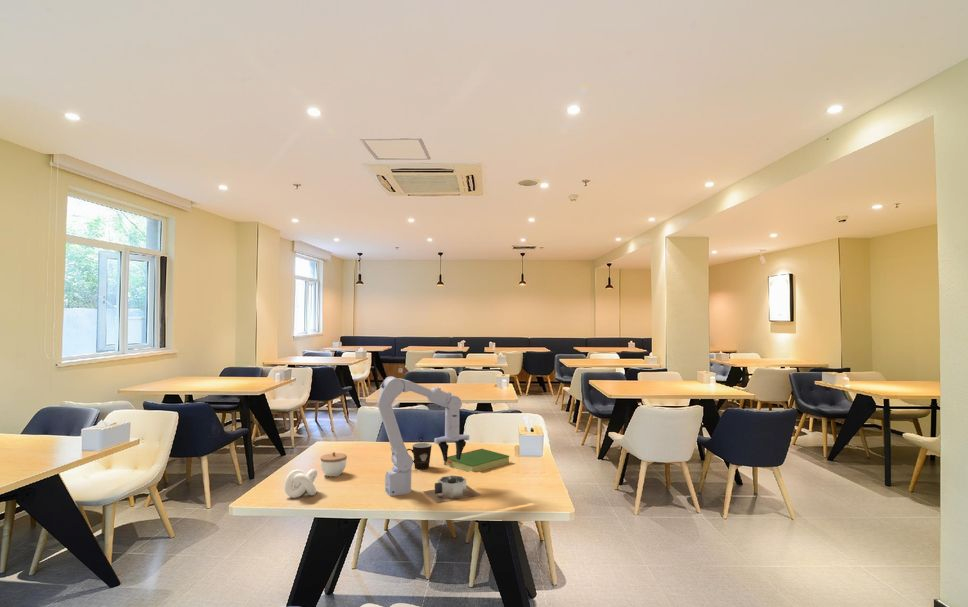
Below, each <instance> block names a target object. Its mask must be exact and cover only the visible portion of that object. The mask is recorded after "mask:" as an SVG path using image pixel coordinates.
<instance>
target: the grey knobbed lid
mask: <svg viewBox="0 0 968 607" xmlns="http://www.w3.org/2000/svg"><path fill="white" fill-rule="evenodd" d="M448 483H451V484H454V483H456V477H449V478H448Z"/></svg>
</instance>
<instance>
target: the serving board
mask: <svg viewBox="0 0 968 607" xmlns="http://www.w3.org/2000/svg"><path fill="white" fill-rule="evenodd" d="M422 493H424V494H425V495H426V496H427V497H428V498H430V499H431V500H432V501H433V502H435V503H436V504H441V503H442V504H443V503H448V502H453V501H458V500H463V499H469V498H475V497H479V496H482V494H481V493H479V492H478V491H476V490H475V489H473V488H472V487H470V486H469V485H468V484H466V494H465V495H464V496H462V497H457V498H446V497H441V496H440V495H439V494H435V489H429V490H424V491H422Z"/></svg>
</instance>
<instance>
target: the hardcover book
mask: <svg viewBox="0 0 968 607" xmlns="http://www.w3.org/2000/svg"><path fill="white" fill-rule="evenodd" d="M443 461H444V460H443ZM443 463H444V465H445V466H447V467H452V468H454V469H457V470H460V471H463V472H468V473H469V472H475V471H477V472H481V471H485V470H489V469H492V468H496V467H500V466H502V465H506V464H509V463H510V455H508V454H504V453H500V452H496V451H492V450H488V449H484V448H479V449H474V450H470V451H467V452H466V451H465V452H462V454H461V458H460V460H458V459H456V454H454V455H450V456H447V462H445V461H444V462H443Z"/></svg>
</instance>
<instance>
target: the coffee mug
mask: <svg viewBox="0 0 968 607" xmlns="http://www.w3.org/2000/svg"><path fill="white" fill-rule="evenodd" d="M432 447H433V446H432V443H428V442H418V443H413V444H412V448H406V449H407V452H409V451H410V452H412V455H413V456H412V457H413V464H414V469H415V470H420V471H421V470H422V471H423V470H424V471H425V470H428V469H429V467H430V462H431V453H432Z"/></svg>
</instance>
